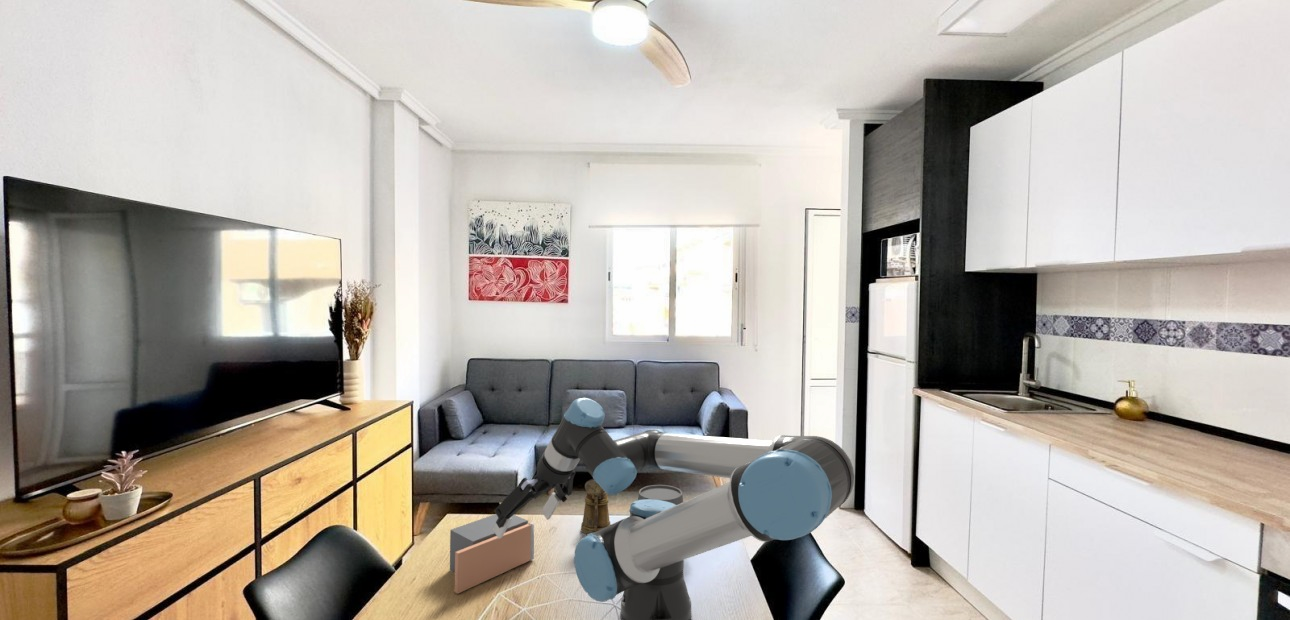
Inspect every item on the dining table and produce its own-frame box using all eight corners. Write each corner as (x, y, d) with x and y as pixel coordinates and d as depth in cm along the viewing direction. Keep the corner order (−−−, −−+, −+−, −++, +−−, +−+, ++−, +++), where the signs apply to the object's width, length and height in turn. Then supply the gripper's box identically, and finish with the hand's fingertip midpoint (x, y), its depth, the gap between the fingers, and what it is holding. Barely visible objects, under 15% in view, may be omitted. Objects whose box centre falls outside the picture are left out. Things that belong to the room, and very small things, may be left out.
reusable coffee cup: (658, 532, 149) (659, 481, 149) (692, 546, 140) (692, 492, 140) (627, 546, 140) (628, 491, 140) (661, 562, 131) (662, 504, 131)
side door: (535, 558, 131) (535, 523, 131) (457, 593, 114) (458, 553, 114) (531, 556, 132) (531, 522, 132) (454, 591, 115) (454, 551, 115)
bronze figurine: (577, 542, 142) (578, 478, 142) (582, 523, 155) (582, 464, 155) (609, 542, 142) (610, 478, 142) (611, 522, 156) (612, 464, 156)
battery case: (528, 559, 132) (528, 520, 132) (473, 584, 119) (474, 541, 119) (504, 547, 138) (504, 510, 138) (449, 570, 126) (450, 529, 126)
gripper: (590, 436, 121) (555, 496, 129) (502, 458, 102) (466, 528, 109) (609, 459, 117) (571, 520, 125) (520, 487, 98) (482, 557, 105)
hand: (522, 524), depth 117 cm, fingers open, 13 cm apart
